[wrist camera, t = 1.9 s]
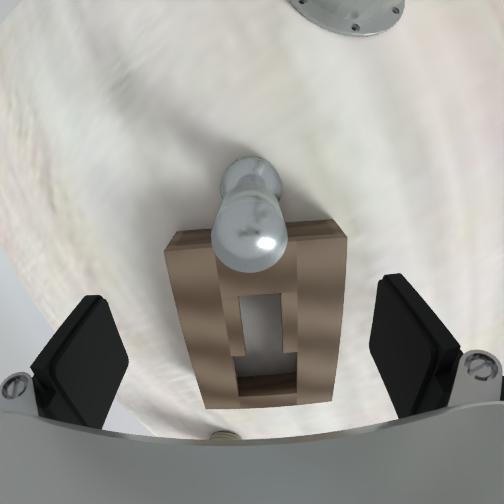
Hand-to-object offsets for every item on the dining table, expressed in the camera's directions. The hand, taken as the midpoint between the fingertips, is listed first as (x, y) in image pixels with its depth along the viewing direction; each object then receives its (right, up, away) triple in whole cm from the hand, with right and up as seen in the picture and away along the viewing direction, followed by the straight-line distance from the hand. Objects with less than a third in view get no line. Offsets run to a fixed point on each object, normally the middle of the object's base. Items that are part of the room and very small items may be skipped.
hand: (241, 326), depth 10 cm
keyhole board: (+2, -5, +25) cm, 26 cm away
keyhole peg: (0, +9, +19) cm, 21 cm away
